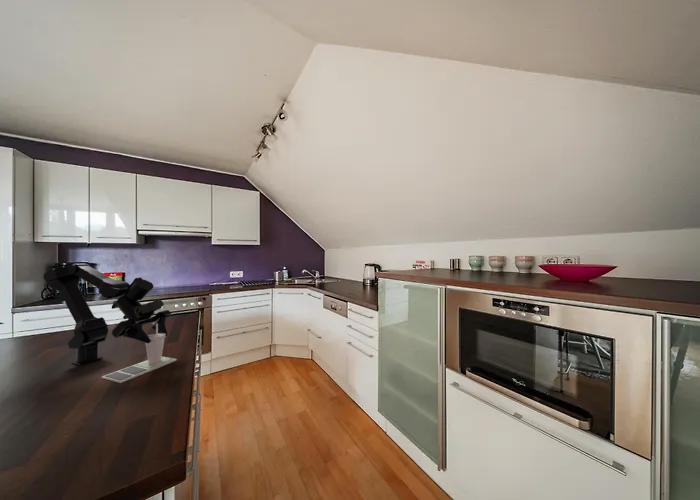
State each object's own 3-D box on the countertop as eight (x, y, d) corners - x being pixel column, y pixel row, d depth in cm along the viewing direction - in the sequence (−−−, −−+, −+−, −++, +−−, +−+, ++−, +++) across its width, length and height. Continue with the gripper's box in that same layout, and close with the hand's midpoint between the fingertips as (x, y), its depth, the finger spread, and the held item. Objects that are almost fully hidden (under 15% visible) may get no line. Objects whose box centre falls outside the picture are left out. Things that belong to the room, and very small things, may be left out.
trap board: (101, 378, 79) (101, 376, 79) (158, 357, 96) (158, 355, 96) (120, 383, 76) (120, 381, 76) (176, 360, 92) (176, 358, 92)
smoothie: (162, 363, 88) (162, 324, 89) (140, 367, 86) (140, 327, 86) (167, 357, 94) (168, 320, 94) (147, 360, 91) (147, 322, 92)
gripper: (120, 298, 82) (148, 331, 80) (167, 290, 100) (191, 317, 99) (99, 320, 82) (127, 354, 81) (150, 308, 101) (173, 336, 99)
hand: (158, 339), depth 90 cm, fingers open, 7 cm apart
